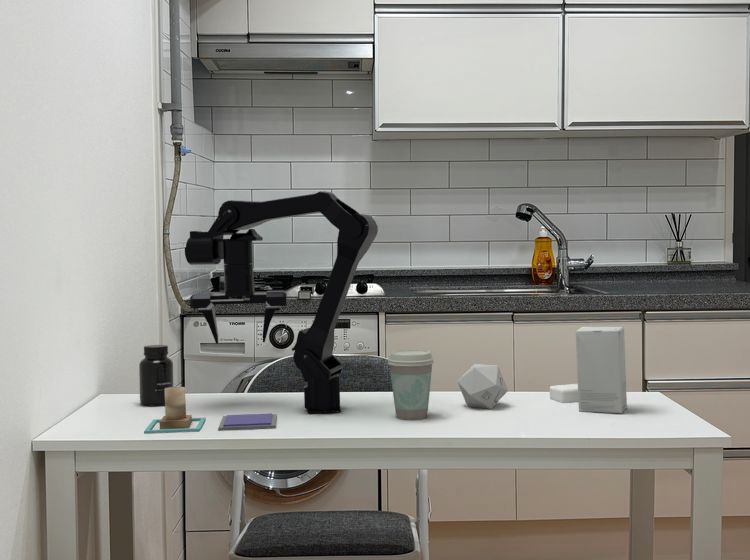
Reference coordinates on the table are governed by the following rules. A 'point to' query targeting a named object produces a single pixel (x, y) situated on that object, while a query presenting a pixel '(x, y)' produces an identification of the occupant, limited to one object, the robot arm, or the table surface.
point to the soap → (564, 393)
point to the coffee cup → (411, 382)
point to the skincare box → (601, 369)
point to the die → (482, 386)
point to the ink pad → (248, 421)
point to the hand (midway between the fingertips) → (240, 342)
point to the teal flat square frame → (198, 428)
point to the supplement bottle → (155, 375)
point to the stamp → (175, 410)
